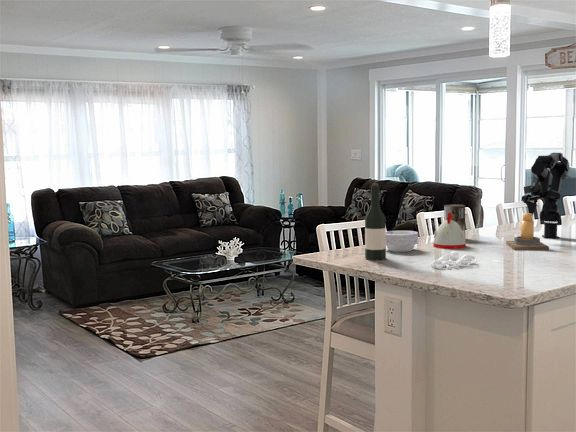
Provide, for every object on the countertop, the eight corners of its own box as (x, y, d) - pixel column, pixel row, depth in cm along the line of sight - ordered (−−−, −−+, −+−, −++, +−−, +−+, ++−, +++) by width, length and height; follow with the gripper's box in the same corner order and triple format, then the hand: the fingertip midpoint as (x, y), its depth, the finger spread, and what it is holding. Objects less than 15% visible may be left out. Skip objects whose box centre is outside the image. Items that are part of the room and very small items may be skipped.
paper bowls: (383, 247, 297) (383, 229, 296) (418, 247, 294) (418, 229, 293) (381, 253, 282) (381, 234, 281) (418, 253, 279) (418, 234, 278)
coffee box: (463, 238, 319) (463, 204, 318) (465, 240, 313) (465, 205, 311) (443, 238, 320) (443, 204, 318) (445, 240, 314) (445, 205, 312)
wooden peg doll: (517, 243, 292) (518, 213, 290) (527, 242, 294) (528, 212, 292) (526, 244, 287) (527, 214, 285) (536, 244, 289) (536, 214, 287)
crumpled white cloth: (452, 275, 240) (453, 264, 240) (420, 267, 251) (420, 256, 250) (482, 266, 253) (483, 256, 252) (450, 259, 264) (451, 248, 263)
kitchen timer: (430, 248, 293) (430, 214, 291) (436, 243, 305) (436, 210, 304) (463, 249, 287) (463, 214, 286) (467, 244, 300) (468, 211, 298)
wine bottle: (387, 257, 272) (387, 183, 269) (383, 260, 264) (383, 184, 261) (367, 256, 275) (367, 183, 271) (362, 259, 267) (362, 184, 263)
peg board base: (506, 244, 299) (506, 235, 299) (538, 244, 298) (539, 235, 297) (514, 250, 283) (514, 240, 283) (548, 250, 282) (548, 240, 281)
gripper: (514, 180, 307) (509, 213, 304) (543, 173, 290) (538, 208, 287) (533, 187, 311) (529, 219, 308) (563, 180, 294) (558, 215, 290)
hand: (538, 215), depth 298 cm, fingers open, 9 cm apart
